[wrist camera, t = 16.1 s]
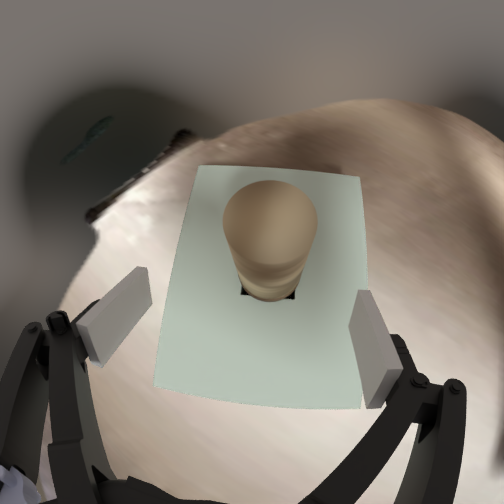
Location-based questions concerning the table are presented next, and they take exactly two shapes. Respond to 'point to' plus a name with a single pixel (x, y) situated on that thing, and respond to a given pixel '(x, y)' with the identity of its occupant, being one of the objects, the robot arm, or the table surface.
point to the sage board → (265, 313)
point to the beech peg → (270, 237)
